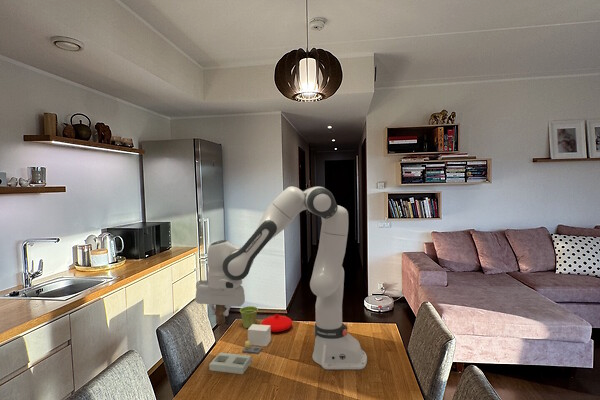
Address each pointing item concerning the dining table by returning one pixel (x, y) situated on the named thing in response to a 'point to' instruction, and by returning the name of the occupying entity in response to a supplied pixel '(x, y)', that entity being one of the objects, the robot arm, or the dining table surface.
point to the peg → (220, 314)
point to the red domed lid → (277, 323)
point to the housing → (259, 334)
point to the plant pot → (248, 315)
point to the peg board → (230, 363)
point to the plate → (251, 348)
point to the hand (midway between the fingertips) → (220, 315)
